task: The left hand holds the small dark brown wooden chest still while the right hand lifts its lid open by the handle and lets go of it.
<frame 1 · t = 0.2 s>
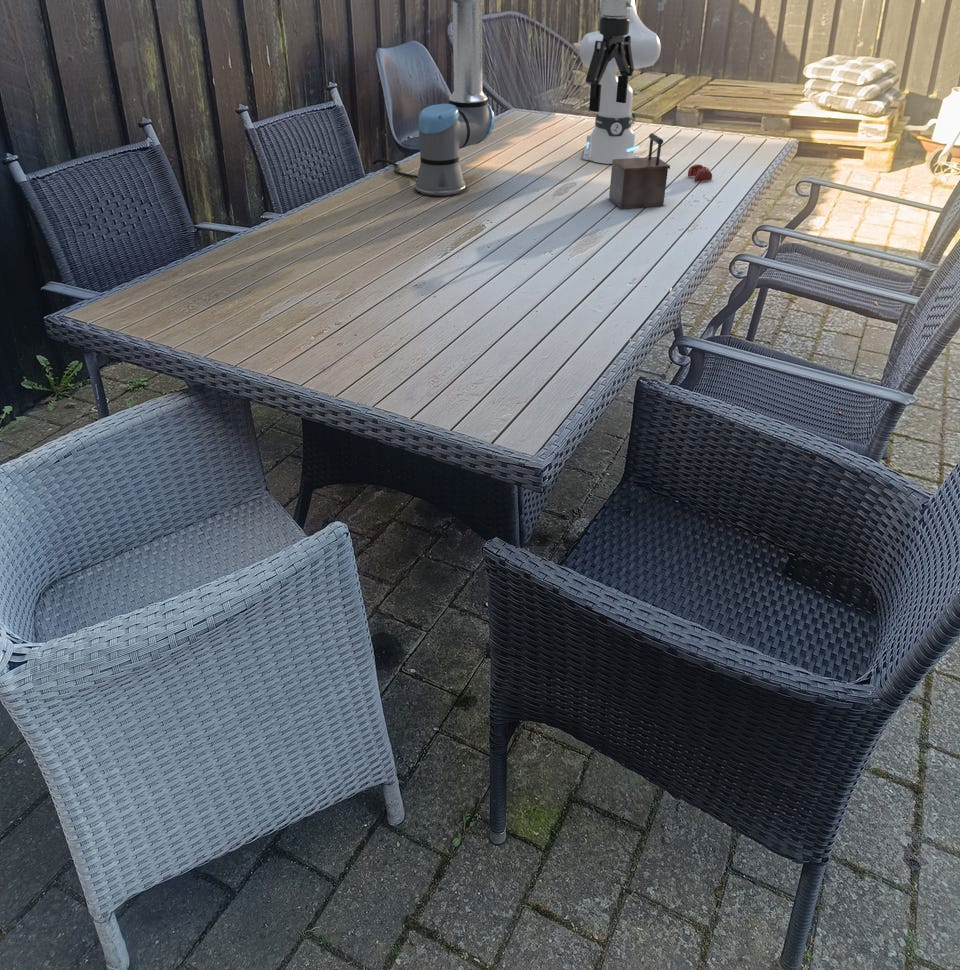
left hand: (607, 106, 226), 28 cm above the table, tool pointing down, fingers open, 13 cm apart
right hand: (643, 10, 234), 48 cm above the table, tool pointing down, fingers open, 8 cm apart
chest: (635, 202, 248), on the table
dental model: (699, 179, 268), on the table
lid: (642, 151, 240), point 14 cm above the table, hinge at 0.0°
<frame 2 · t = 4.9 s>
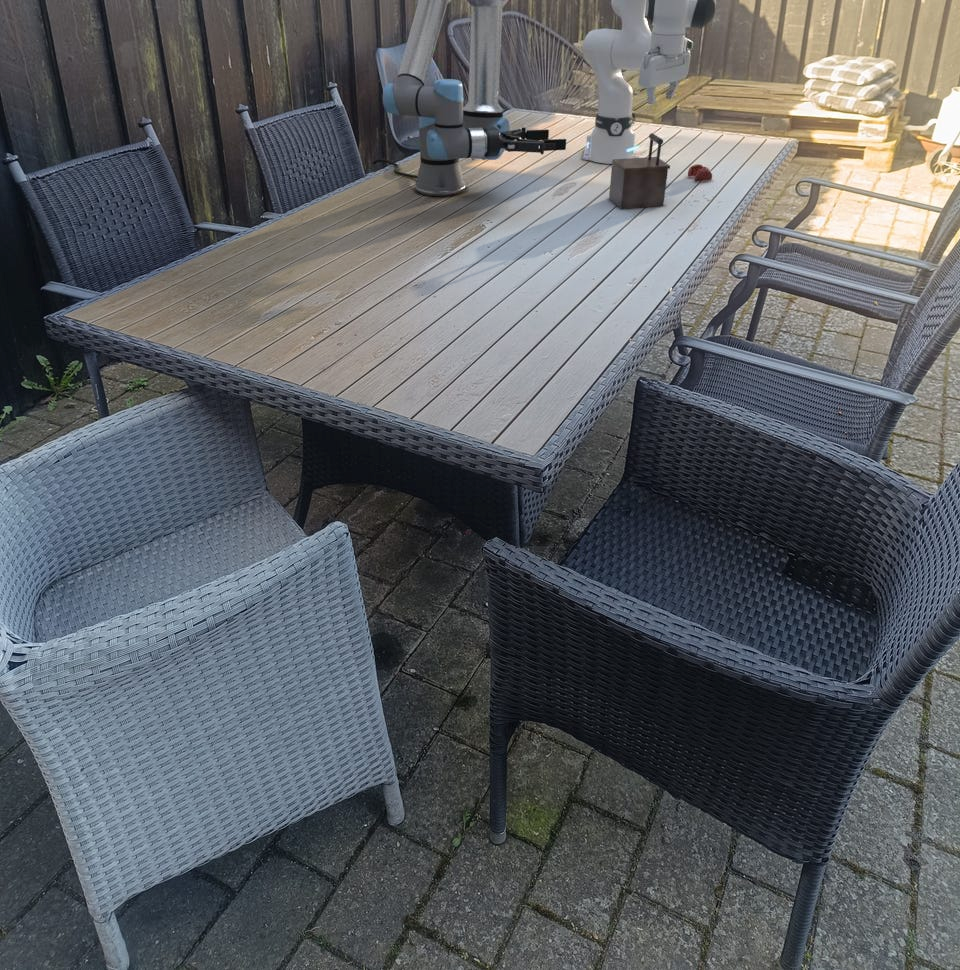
left hand: (556, 139, 234), 19 cm above the table, tool horizontal, fingers open, 13 cm apart
right hand: (660, 100, 233), 28 cm above the table, tool pointing down, fingers open, 8 cm apart
nothing on the table moved.
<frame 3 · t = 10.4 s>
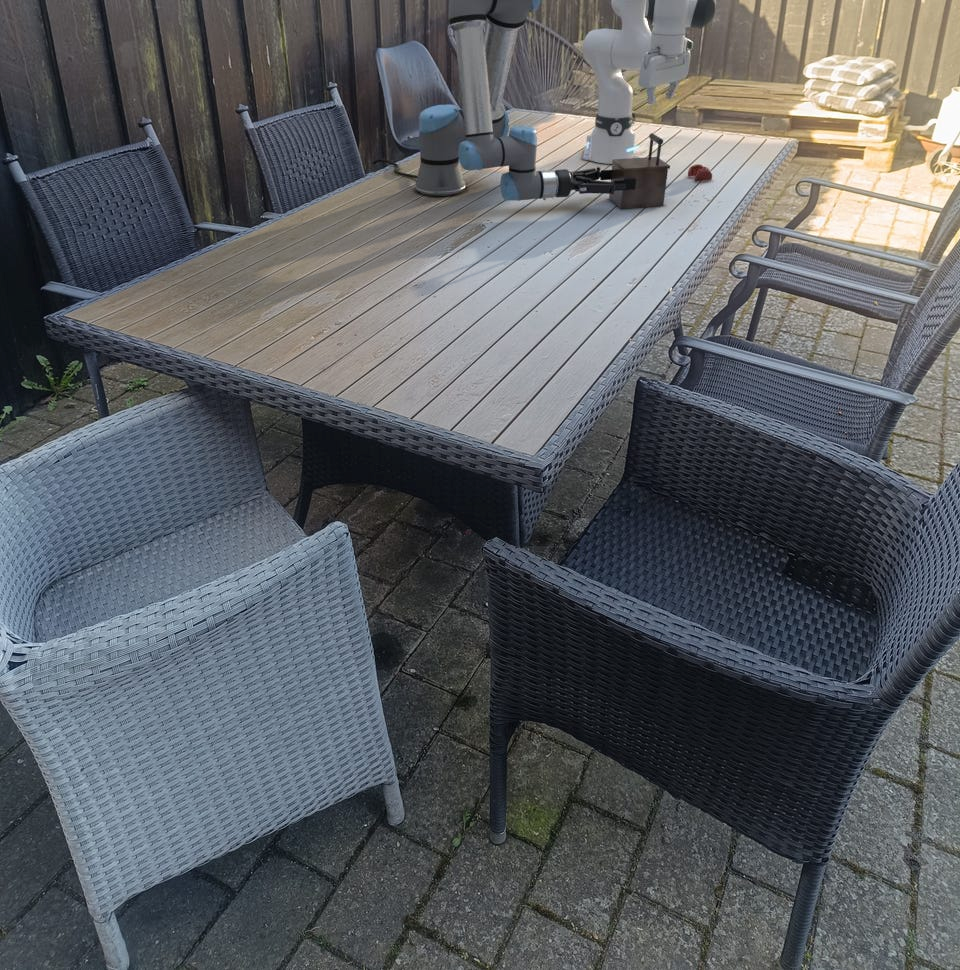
left hand: (628, 179, 244), 7 cm above the table, tool horizontal, fingers closed on chest, 10 cm apart
right hand: (660, 100, 233), 28 cm above the table, tool pointing down, fingers open, 8 cm apart
chest: (635, 202, 248), on the table, touching left hand
everything else where it was.
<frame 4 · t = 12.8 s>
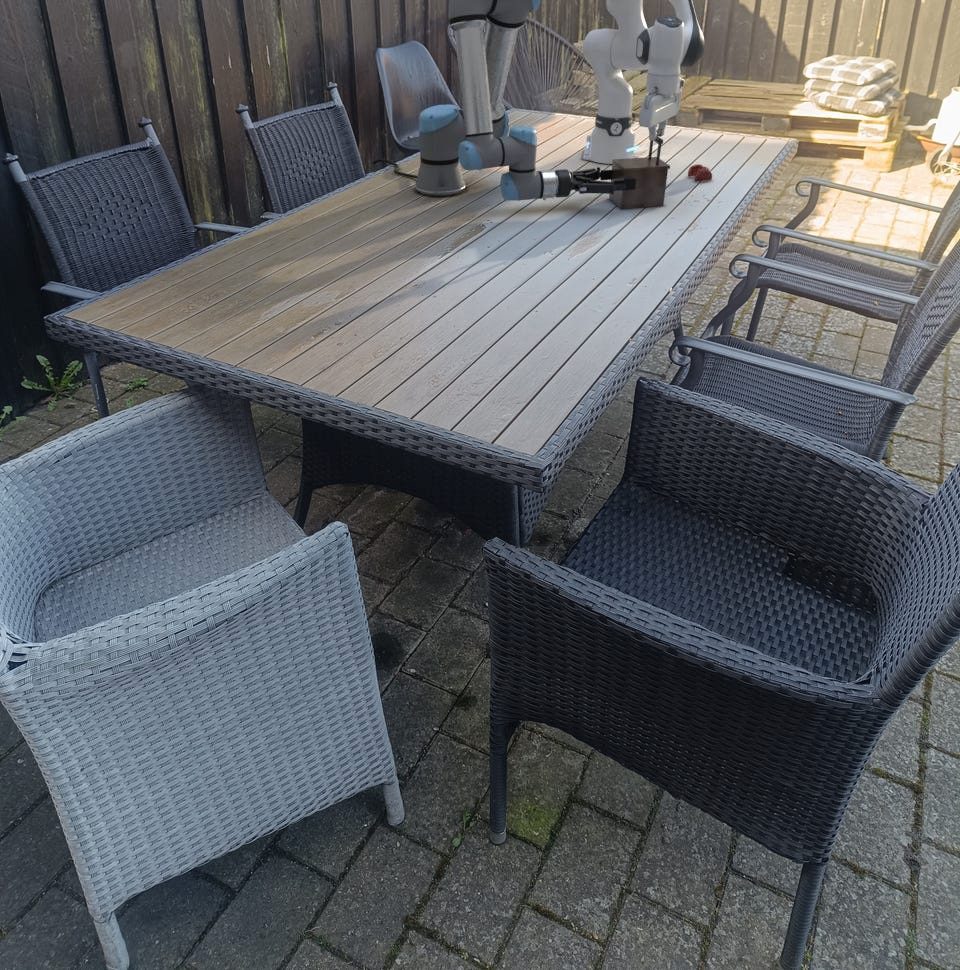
left hand: (628, 179, 244), 7 cm above the table, tool horizontal, fingers closed on chest, 10 cm apart
right hand: (656, 137, 239), 18 cm above the table, tool pointing down, fingers closed on lid, 4 cm apart
chest: (635, 202, 248), on the table, touching left hand
lid: (642, 151, 240), point 14 cm above the table, hinge at -0.1°, touching right hand
everything else where it was.
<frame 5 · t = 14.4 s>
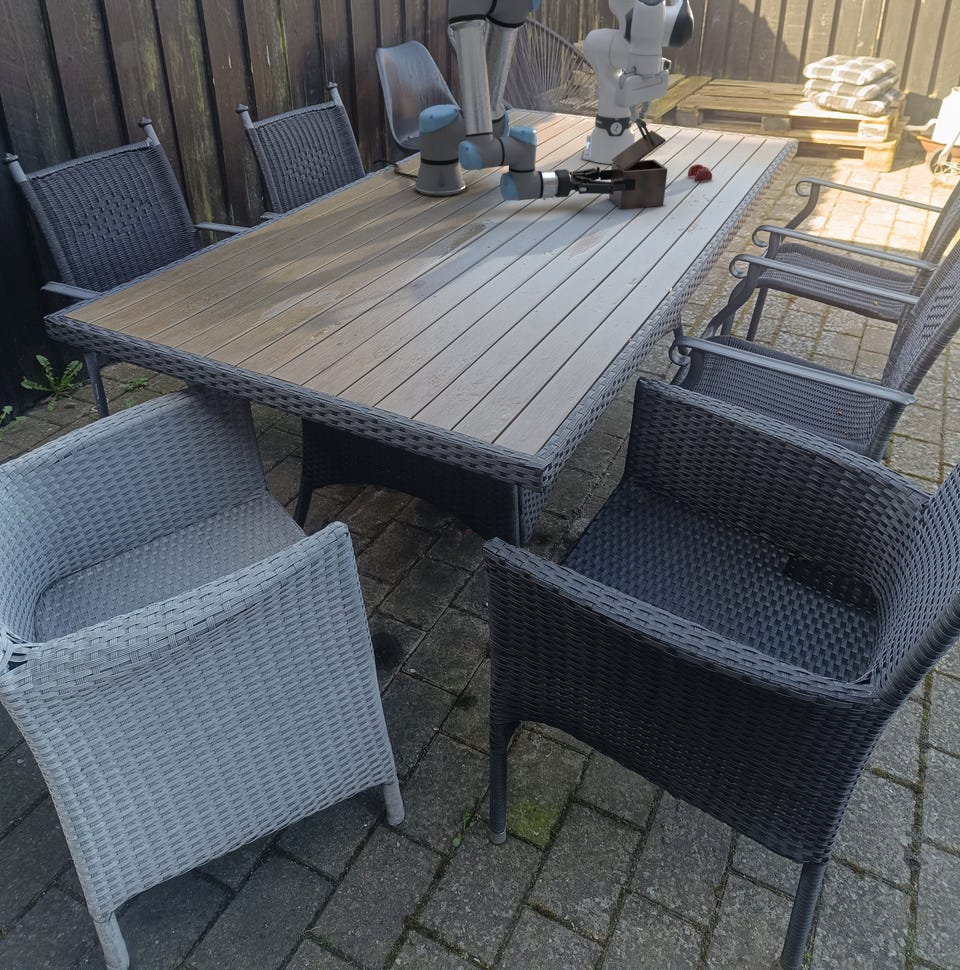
left hand: (628, 179, 244), 7 cm above the table, tool horizontal, fingers closed on chest, 10 cm apart
right hand: (638, 119, 235), 23 cm above the table, tool pointing down, fingers closed
chest: (635, 202, 248), on the table, touching left hand
lid: (632, 140, 237), point 18 cm above the table, hinge at 33.1°, touching right hand
everything else where it was.
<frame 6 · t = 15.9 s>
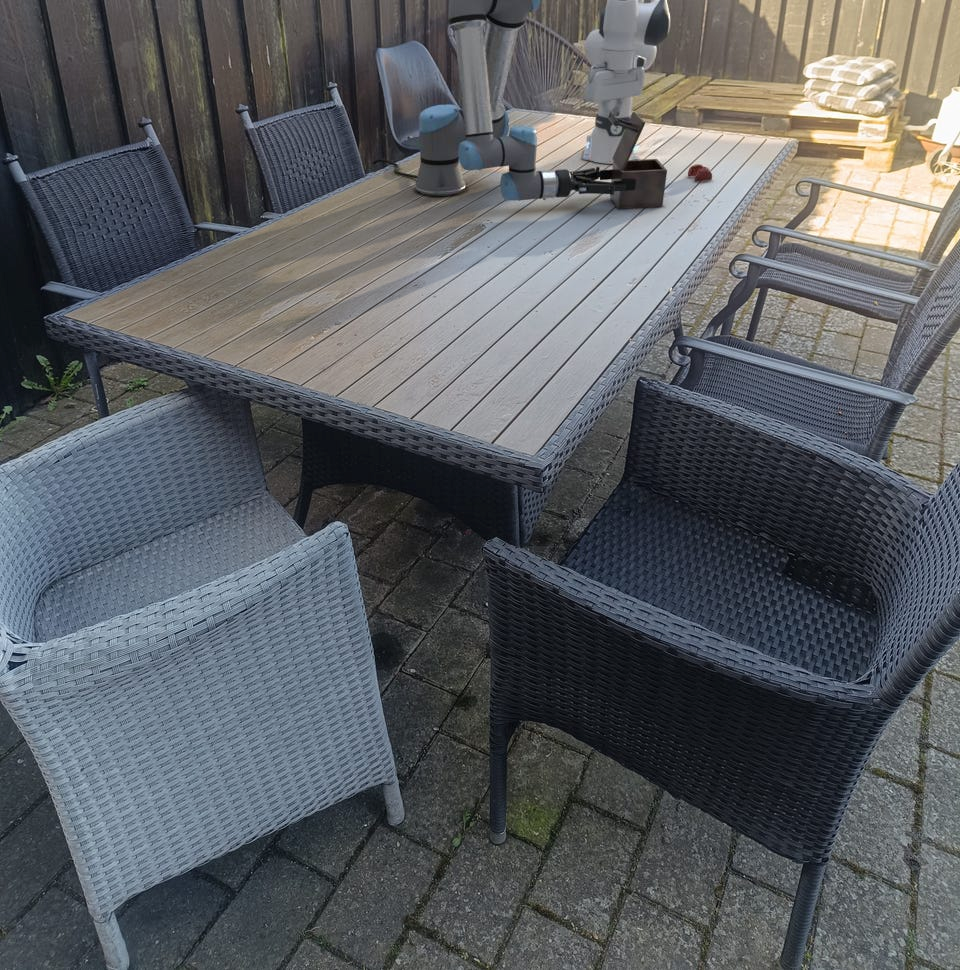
left hand: (628, 179, 244), 7 cm above the table, tool horizontal, fingers closed on chest, 10 cm apart
right hand: (611, 116, 232), 24 cm above the table, tool pointing down, fingers closed
chest: (635, 201, 248), on the table, touching left hand
lid: (617, 137, 236), point 19 cm above the table, hinge at 69.1°, touching right hand
everything else where it was.
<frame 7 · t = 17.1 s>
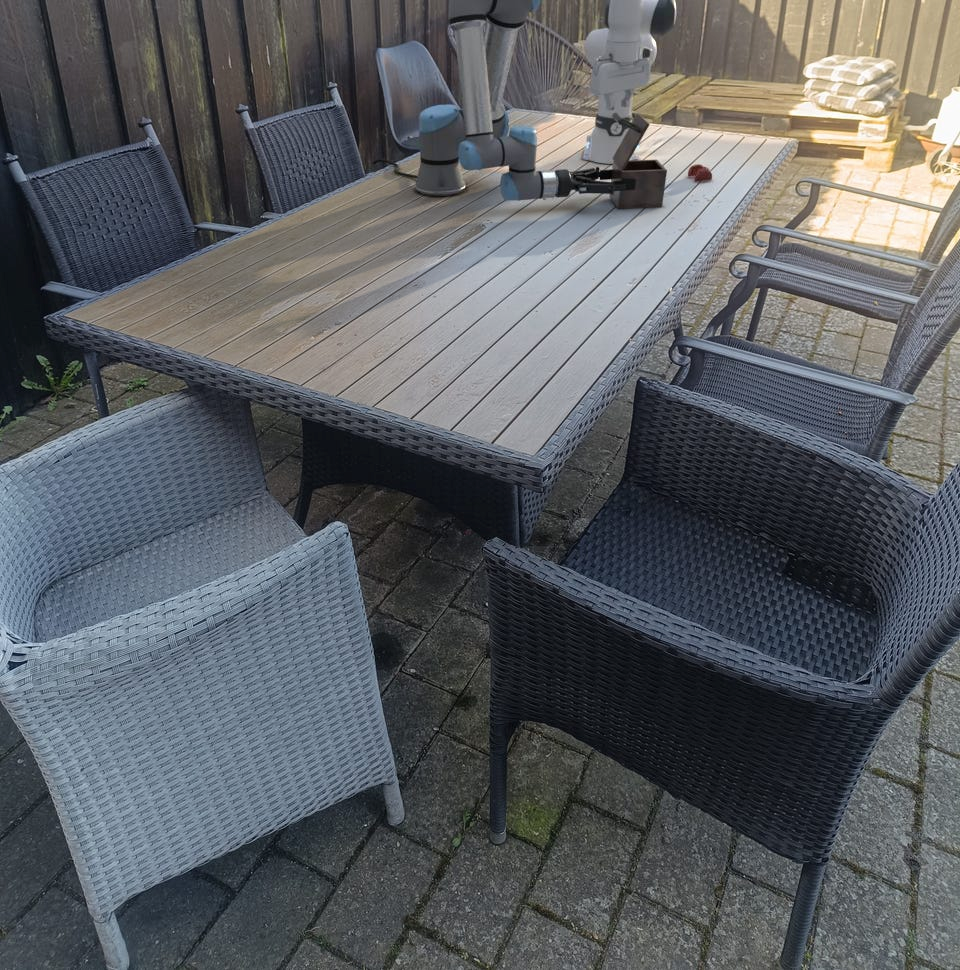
left hand: (627, 179, 244), 7 cm above the table, tool horizontal, fingers closed on chest, 10 cm apart
right hand: (617, 108, 232), 26 cm above the table, tool pointing down, fingers open, 5 cm apart
chest: (635, 201, 248), on the table, touching left hand
lid: (620, 136, 236), point 19 cm above the table, hinge at 63.8°
everything else where it was.
when the left hand's fingers open (7 cm above the table, at t = 20.2 s): chest stays where it is, on the table.
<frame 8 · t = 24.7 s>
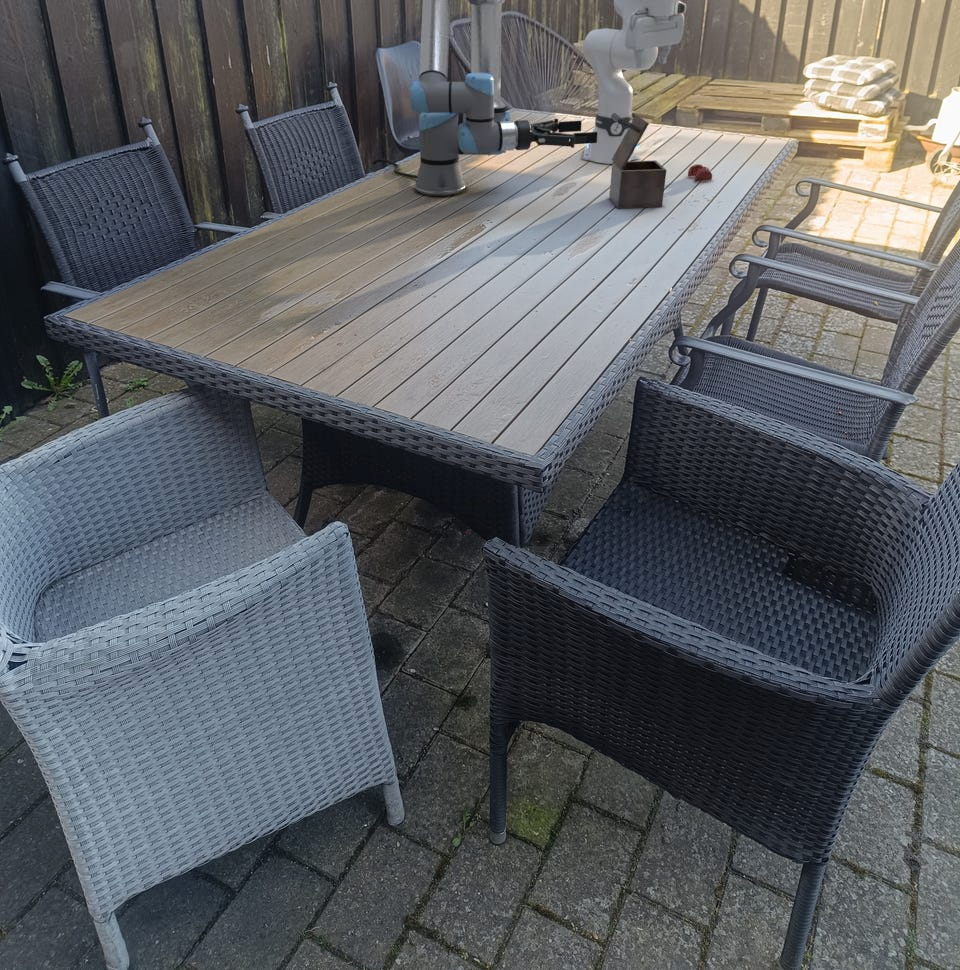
left hand: (588, 131, 234), 21 cm above the table, tool horizontal, fingers open, 13 cm apart
right hand: (651, 65, 227), 37 cm above the table, tool pointing down, fingers open, 8 cm apart
chest: (635, 202, 248), on the table
lid: (619, 136, 237), point 19 cm above the table, hinge at 63.4°
everything else where it was.
at the end: lid at +63° (first picture: +0°); the left hand is holding nothing; the right hand is holding nothing; chest tilted 0°; chest never tilted more than 4° during the clip; chest moved 0.3 cm from its start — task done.
